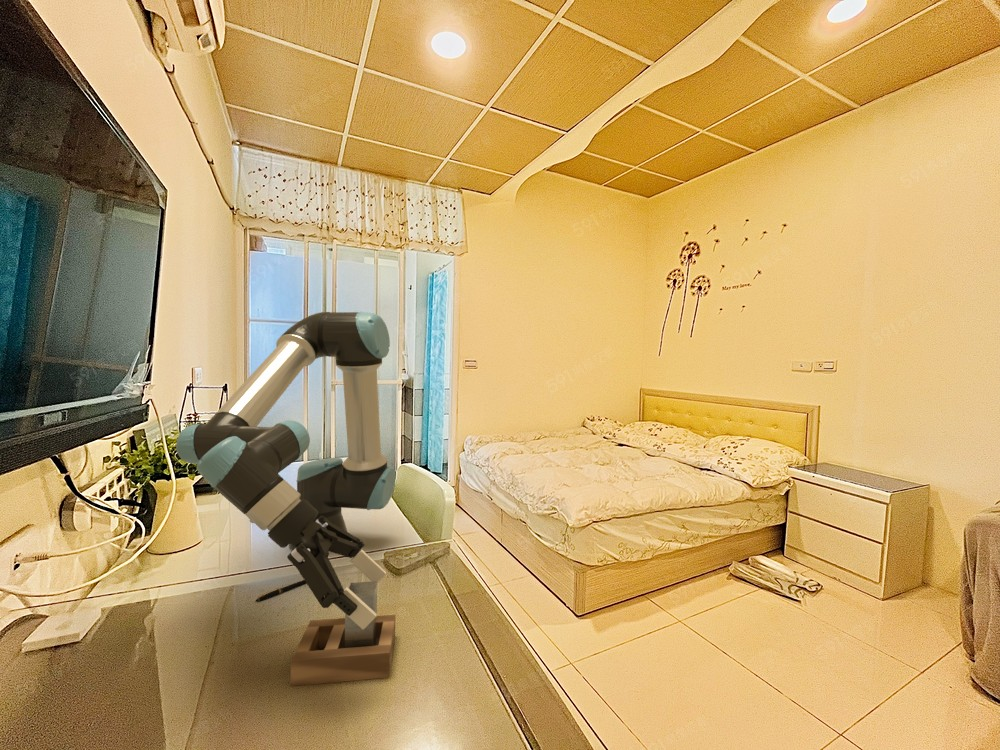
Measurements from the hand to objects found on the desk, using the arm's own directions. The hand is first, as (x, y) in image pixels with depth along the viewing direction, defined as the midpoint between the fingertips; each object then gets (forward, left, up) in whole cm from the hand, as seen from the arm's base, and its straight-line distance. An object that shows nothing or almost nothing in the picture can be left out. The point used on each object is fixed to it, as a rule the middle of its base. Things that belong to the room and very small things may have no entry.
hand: (376, 598), depth 72 cm
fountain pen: (-25, -22, -11) cm, 35 cm away
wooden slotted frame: (0, -5, -10) cm, 11 cm away
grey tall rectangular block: (0, -2, -10) cm, 10 cm away
